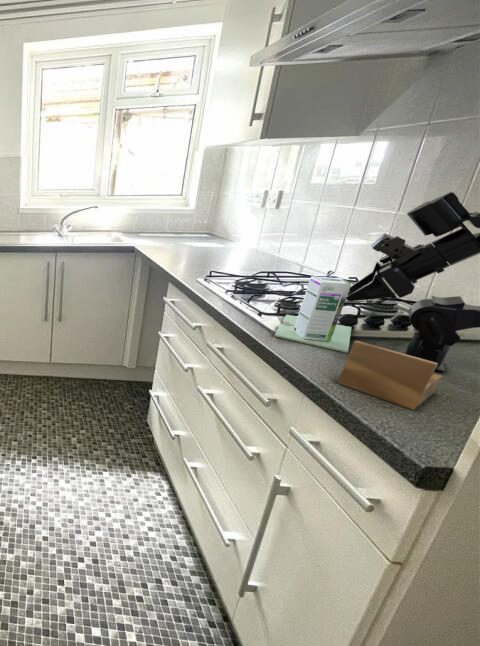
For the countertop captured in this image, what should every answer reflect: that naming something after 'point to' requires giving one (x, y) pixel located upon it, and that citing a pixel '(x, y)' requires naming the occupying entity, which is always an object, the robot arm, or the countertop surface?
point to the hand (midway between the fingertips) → (348, 294)
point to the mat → (337, 341)
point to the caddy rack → (389, 375)
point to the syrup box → (321, 308)
